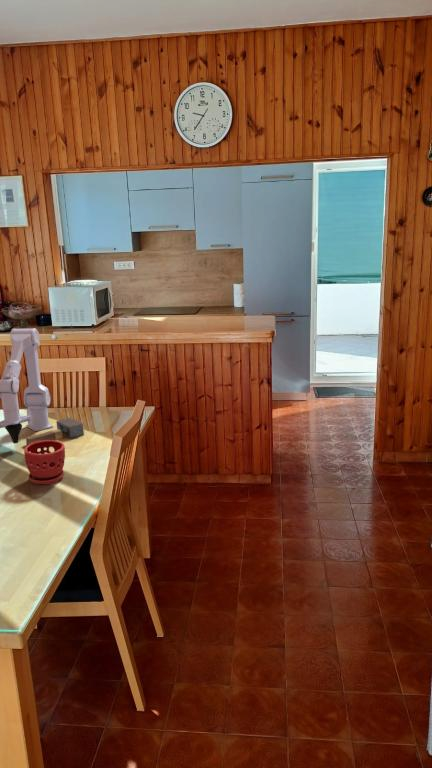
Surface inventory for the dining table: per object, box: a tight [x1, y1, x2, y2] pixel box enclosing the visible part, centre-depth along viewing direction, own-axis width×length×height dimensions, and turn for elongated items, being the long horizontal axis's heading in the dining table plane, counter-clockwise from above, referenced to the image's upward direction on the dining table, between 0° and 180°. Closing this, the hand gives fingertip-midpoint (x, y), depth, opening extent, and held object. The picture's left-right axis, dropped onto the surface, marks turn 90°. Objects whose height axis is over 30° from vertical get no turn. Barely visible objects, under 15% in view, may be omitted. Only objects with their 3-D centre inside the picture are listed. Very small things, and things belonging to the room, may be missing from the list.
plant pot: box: [23, 440, 66, 485], centre depth 200 cm, size 13×13×12 cm
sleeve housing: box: [56, 417, 85, 439], centre depth 244 cm, size 11×6×5 cm, turn 42°
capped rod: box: [25, 428, 63, 446], centre depth 237 cm, size 3×14×3 cm, turn 133°
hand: (15, 442), depth 228 cm, fingers closed
